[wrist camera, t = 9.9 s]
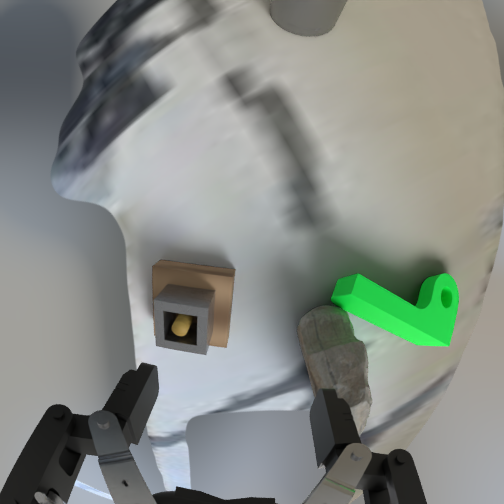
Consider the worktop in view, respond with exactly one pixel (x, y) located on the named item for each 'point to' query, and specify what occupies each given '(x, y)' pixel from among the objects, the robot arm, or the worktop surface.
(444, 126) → the worktop surface
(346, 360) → the stone
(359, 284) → the bracket
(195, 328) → the link
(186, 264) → the keeper
